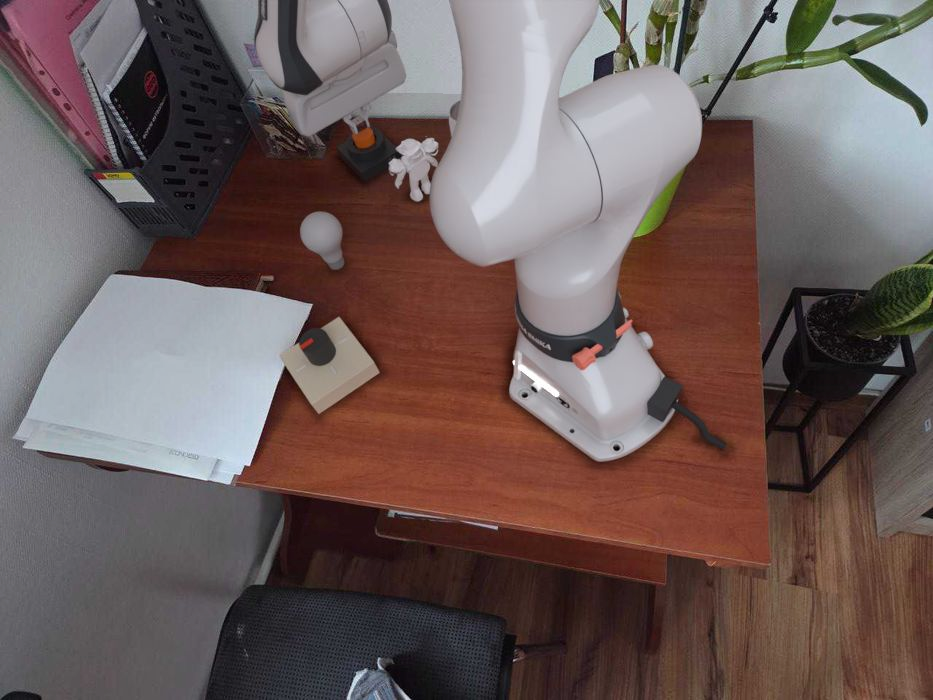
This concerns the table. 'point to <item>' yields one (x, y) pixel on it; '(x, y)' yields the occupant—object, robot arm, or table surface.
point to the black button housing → (369, 155)
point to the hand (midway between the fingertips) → (360, 129)
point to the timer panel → (331, 368)
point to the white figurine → (415, 165)
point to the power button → (364, 138)
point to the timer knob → (317, 346)
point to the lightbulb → (323, 237)
